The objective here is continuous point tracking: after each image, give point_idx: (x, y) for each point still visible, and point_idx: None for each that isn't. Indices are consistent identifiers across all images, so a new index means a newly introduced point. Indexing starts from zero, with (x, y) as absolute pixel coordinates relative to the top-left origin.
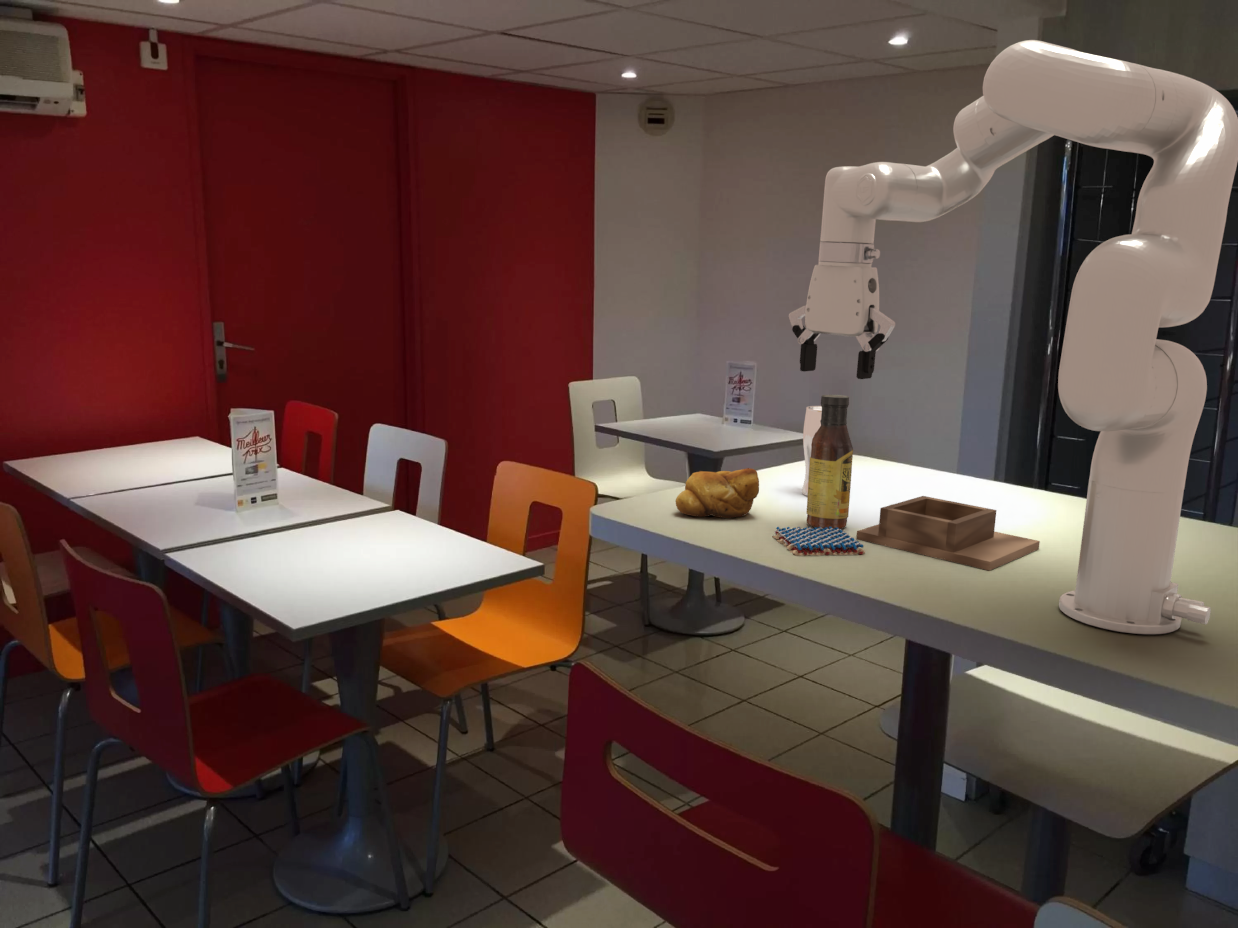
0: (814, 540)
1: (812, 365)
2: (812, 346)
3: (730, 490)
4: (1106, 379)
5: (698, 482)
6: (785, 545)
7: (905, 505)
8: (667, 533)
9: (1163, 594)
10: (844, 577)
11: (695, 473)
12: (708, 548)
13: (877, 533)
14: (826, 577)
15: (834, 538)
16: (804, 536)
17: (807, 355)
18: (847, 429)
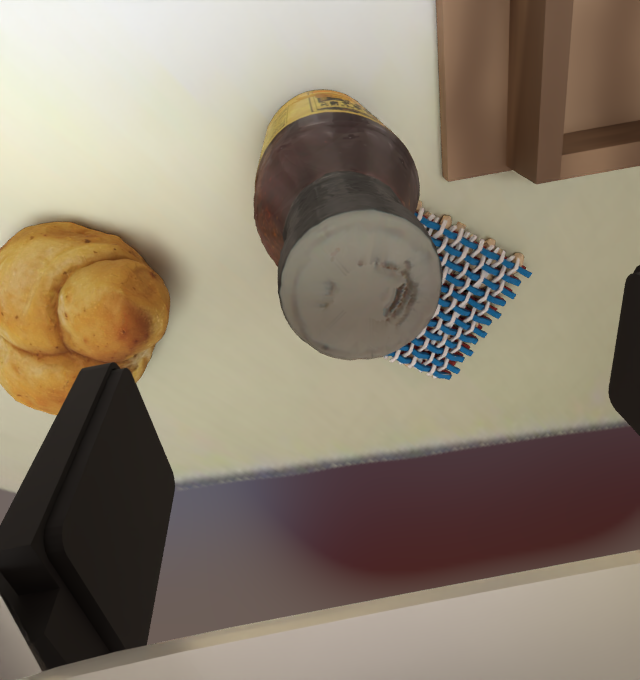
0: (436, 324)
1: (132, 424)
2: (98, 593)
3: (144, 355)
4: None
5: None
6: None
7: (566, 69)
8: (203, 467)
9: None
10: (568, 387)
11: (31, 404)
12: (318, 461)
13: (495, 153)
14: (547, 409)
15: (458, 284)
16: None
17: (149, 564)
18: (400, 189)
